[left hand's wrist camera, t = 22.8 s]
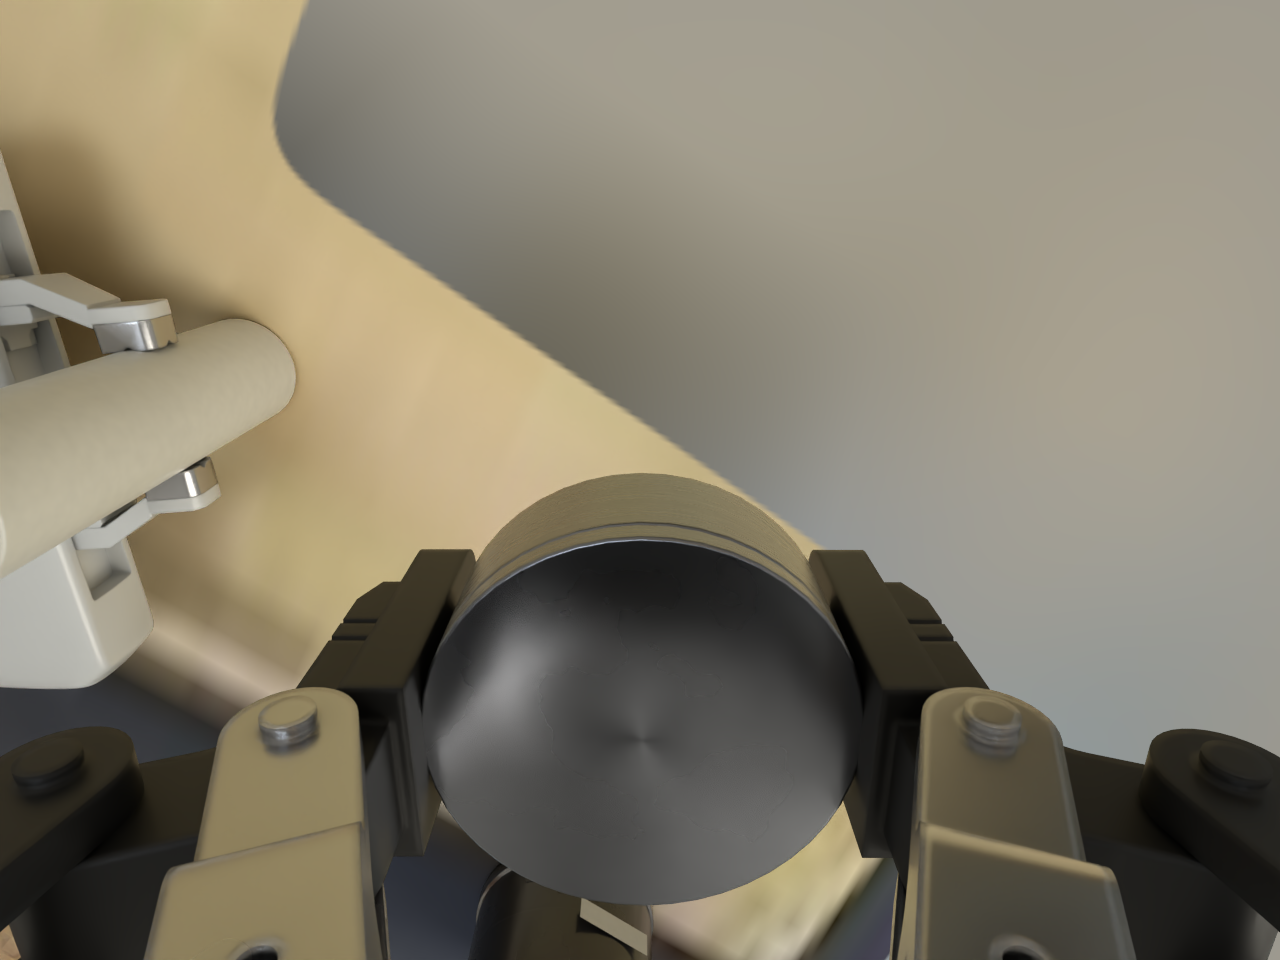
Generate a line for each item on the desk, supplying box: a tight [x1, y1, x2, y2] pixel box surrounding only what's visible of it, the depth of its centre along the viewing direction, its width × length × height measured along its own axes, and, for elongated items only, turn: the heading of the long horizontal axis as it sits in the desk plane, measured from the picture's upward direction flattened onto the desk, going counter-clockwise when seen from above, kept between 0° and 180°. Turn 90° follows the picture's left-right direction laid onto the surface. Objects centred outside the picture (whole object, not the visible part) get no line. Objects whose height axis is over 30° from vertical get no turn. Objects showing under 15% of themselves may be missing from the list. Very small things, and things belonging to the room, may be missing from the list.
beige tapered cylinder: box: [0, 319, 296, 579], centre depth 25 cm, size 4×4×18 cm
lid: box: [422, 473, 864, 905], centre depth 10 cm, size 5×5×2 cm
